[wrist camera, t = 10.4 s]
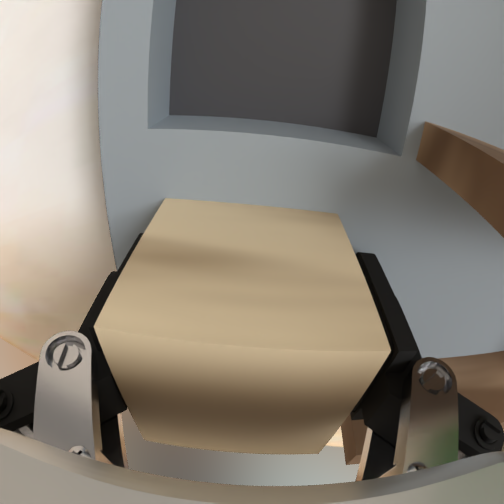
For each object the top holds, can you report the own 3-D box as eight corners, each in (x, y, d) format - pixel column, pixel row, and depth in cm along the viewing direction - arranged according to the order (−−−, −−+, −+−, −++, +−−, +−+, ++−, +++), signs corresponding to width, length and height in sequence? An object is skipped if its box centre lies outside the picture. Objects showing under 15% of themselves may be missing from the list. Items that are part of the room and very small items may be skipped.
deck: (505, 345, 17) (519, 373, 14) (154, 340, 16) (141, 382, 14) (607, 83, 6) (639, 97, 3) (150, -92, 5) (122, -122, 3)
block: (305, 331, 12) (318, 453, 8) (174, 320, 12) (144, 440, 7) (337, 213, 9) (391, 350, 5) (165, 198, 9) (93, 326, 5)
